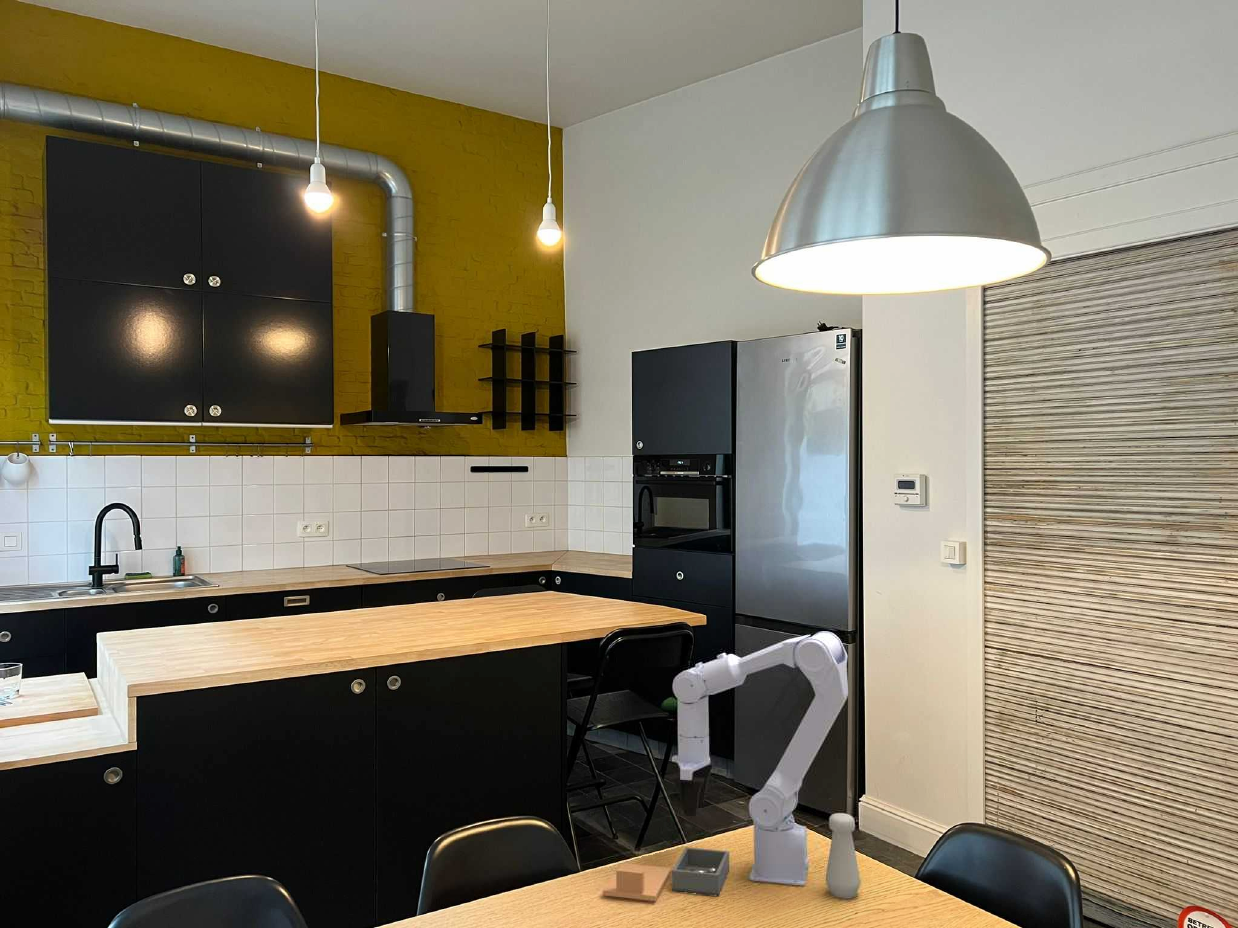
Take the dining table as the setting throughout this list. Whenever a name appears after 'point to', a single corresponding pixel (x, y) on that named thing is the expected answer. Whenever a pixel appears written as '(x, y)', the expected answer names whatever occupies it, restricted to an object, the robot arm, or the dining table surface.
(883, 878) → the dining table surface
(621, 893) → the lid
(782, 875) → the robot arm
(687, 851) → the tub
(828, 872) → the salt shaker
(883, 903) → the dining table surface
